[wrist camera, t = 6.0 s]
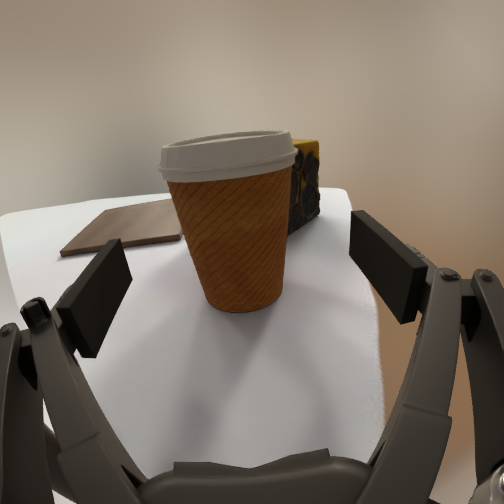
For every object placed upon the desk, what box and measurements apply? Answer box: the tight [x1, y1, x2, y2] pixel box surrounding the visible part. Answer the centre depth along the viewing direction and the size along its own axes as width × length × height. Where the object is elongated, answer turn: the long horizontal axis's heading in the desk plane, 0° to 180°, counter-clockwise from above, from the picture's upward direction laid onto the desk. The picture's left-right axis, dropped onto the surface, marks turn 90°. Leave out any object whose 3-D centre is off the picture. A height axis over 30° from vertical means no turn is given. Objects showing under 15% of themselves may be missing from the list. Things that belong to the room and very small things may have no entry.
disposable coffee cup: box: [157, 130, 298, 312], centre depth 21 cm, size 10×10×12 cm
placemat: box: [60, 199, 183, 257], centre depth 42 cm, size 18×18×1 cm
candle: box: [287, 139, 320, 235], centre depth 35 cm, size 10×10×10 cm
